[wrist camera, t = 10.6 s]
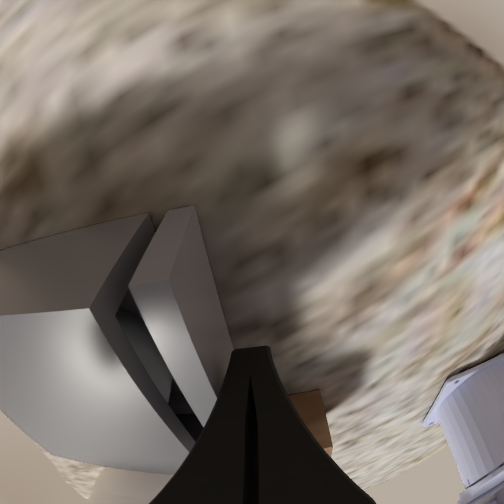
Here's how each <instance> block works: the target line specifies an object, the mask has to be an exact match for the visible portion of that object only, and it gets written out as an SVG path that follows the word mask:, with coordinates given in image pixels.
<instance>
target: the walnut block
mask: <svg viewBox="0 0 504 504" xmlns="http://www.w3.org/2000/svg"><path fill="white" fill-rule="evenodd" d="M288 396H289V398H290V400H291V402H292V404H293V405H294V407H295V409H296V410H297V412H298V414H299V415H300V417H301V419H302V420H303V422H304V423H305V425H306V426H307V428H308V429H309V430H310V432H311V433H312V435H313V436H314V437H315V439H316V440H317V441H318V443H319V444H320V445H321V446H322V448H323V449H324V450H325V451H326V453H327V454H328V455H329V456H330V457H331V454H332V448H333V445H332V441H331V436H330V431H329V427H328V423H327V418H326V414H325V409H324V405H323V401H322V396H321V392H320V390H315V391H310V392H304V393H298V394H292V395H288Z"/></svg>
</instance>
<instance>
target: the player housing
mask: <svg viewBox="0 0 504 504" xmlns="http://www.w3.org/2000/svg"><path fill="white" fill-rule="evenodd" d="M154 235H155V230H154V227H153V224H152V221H151V217H150V214H149V213H144V214H139V215H135V216H130V217H126V218H121V219H117V220H112V221H108V222H104V223H100V224H96V225H91V226H87V227H83V228H79V229H75V230H71V231H68V232H64V233H60V234H56V235H52V236H49V237H45V238H41V239H38V240H34V241H31V242H27V243H24V244H20V245H17V246H13V247H10V248H7V249H3V250H0V410H1V411H2V412H3V413H4V414H5V415H6V416H7V417H8V418H9V419H10V420H11V421H12V422H13V423H14V424H15V425H17V426H18V427H19V428H20V429H21V430H22V431H23V432H25V433H26V434H27V435H28V436H29V437H30V438H31V439H33V440H34V441H35V442H36V443H37V444H39V445H40V446H41V447H42V448H44V449H45V450H46V451H47V452H49V453H50V454H51V455H55V456H59V457H63V458H66V459H70V460H75V461H79V462H84V463H88V464H93V465H98V466H104V467H110V468H116V469H123V470H130V471H138V472H147V473H159V474H175V473H176V471H177V470H178V469H179V467H180V466H181V465H182V463H183V462H184V460H185V459H186V457H187V456H188V454H189V452H190V451H191V449H192V448H193V446H194V444H195V443H196V441H197V439H198V438H199V436H200V434H201V432H202V430H203V428H204V427H203V426H202V424H201V423H200V421H199V419H198V418H197V416H196V415H195V414H175V413H174V412H173V411H172V409H171V408H170V406H169V405H168V403H167V402H166V400H165V399H164V397H163V396H162V394H161V393H160V391H159V390H158V388H157V387H156V385H155V384H154V382H153V381H152V379H151V377H150V376H149V374H148V373H147V371H146V369H145V368H144V366H143V365H142V363H141V361H140V360H139V358H138V356H137V354H136V353H135V351H134V349H133V348H132V346H131V344H130V342H129V341H128V339H127V337H126V335H125V333H124V331H123V330H122V328H121V326H120V324H119V322H118V320H117V318H116V316H115V315H116V313H117V311H118V309H119V307H120V304H121V302H122V300H123V298H124V296H125V294H126V292H127V289H128V285H129V283H130V281H131V279H132V277H133V275H134V273H135V271H136V269H137V267H138V265H139V263H140V261H141V259H142V257H143V255H144V253H145V251H146V250H147V248H148V246H149V244H150V242H151V240H152V238H153V236H154Z"/></svg>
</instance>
